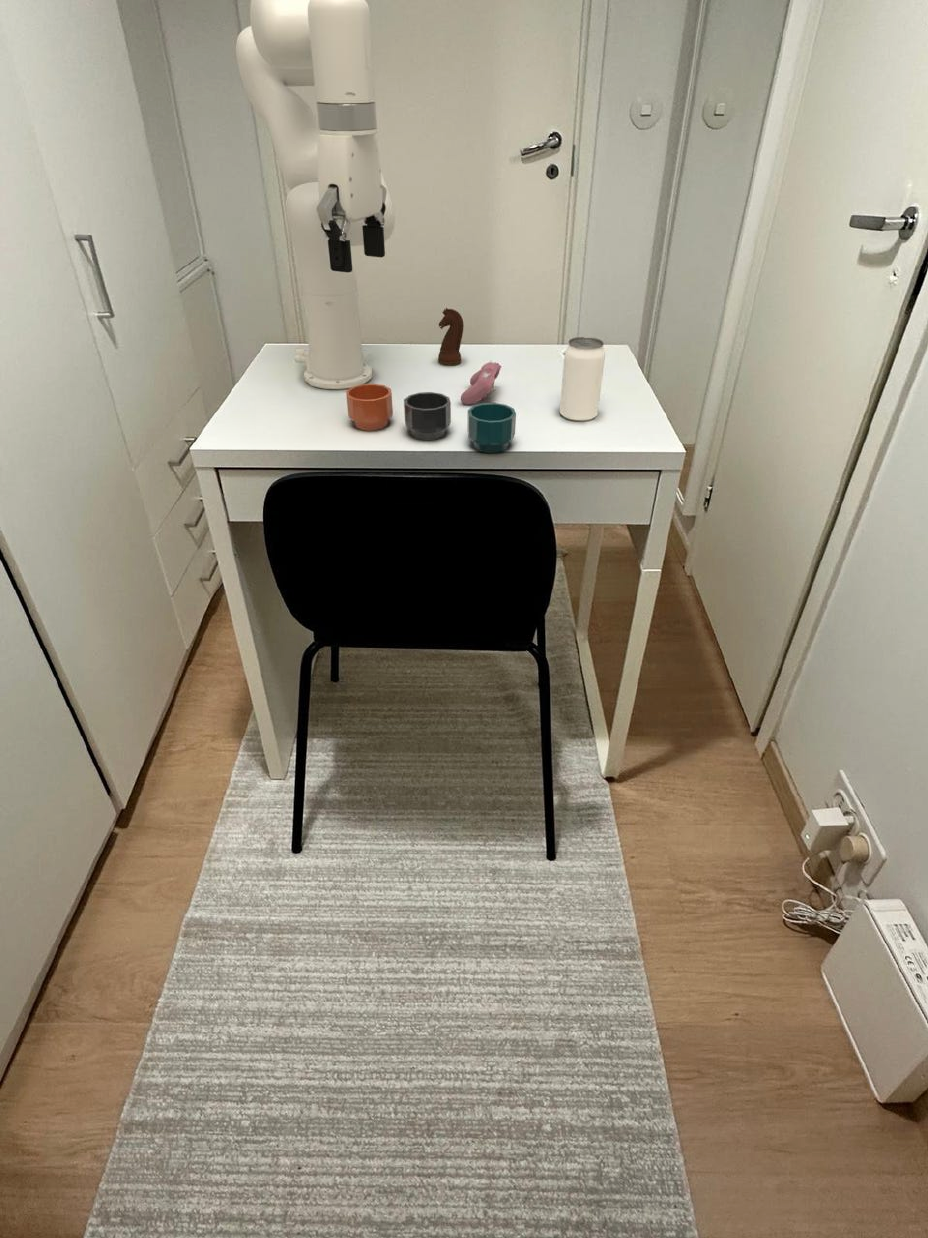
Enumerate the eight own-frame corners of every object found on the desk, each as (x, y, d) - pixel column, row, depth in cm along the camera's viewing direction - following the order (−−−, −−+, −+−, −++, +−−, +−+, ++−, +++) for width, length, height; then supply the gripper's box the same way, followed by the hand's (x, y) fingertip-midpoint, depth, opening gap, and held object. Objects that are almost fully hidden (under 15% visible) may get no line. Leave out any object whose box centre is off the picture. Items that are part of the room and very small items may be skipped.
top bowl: (460, 450, 112) (460, 417, 108) (477, 432, 117) (478, 400, 114) (504, 458, 110) (505, 424, 106) (520, 439, 115) (521, 407, 112)
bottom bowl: (398, 438, 115) (396, 405, 112) (417, 421, 120) (416, 389, 117) (439, 445, 113) (438, 412, 110) (457, 428, 118) (457, 396, 115)
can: (573, 424, 119) (580, 351, 112) (551, 410, 124) (557, 339, 116) (605, 417, 122) (614, 345, 114) (583, 404, 126) (591, 333, 119)
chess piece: (443, 356, 145) (442, 304, 139) (467, 360, 144) (467, 307, 137) (434, 364, 142) (433, 310, 135) (458, 367, 140) (458, 313, 134)
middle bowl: (341, 428, 118) (337, 396, 115) (362, 412, 123) (360, 380, 120) (380, 436, 116) (378, 403, 112) (400, 419, 121) (399, 387, 118)
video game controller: (480, 415, 126) (499, 381, 122) (457, 402, 125) (476, 367, 121) (490, 394, 134) (508, 361, 129) (468, 381, 133) (486, 348, 129)
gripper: (354, 113, 101) (364, 248, 112) (285, 123, 89) (303, 274, 99) (403, 115, 99) (408, 253, 110) (338, 126, 86) (351, 280, 97)
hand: (358, 263), depth 105 cm, fingers open, 9 cm apart
